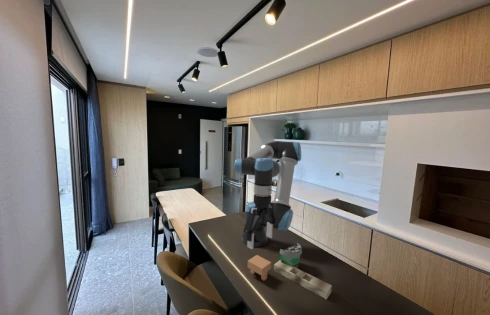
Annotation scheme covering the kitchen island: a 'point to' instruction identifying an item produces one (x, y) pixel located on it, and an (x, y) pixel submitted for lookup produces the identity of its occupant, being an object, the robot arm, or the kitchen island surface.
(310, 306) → the kitchen island surface
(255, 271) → the tan toy stool
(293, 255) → the grey green half-round piece
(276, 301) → the kitchen island surface
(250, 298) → the kitchen island surface
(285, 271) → the rail
